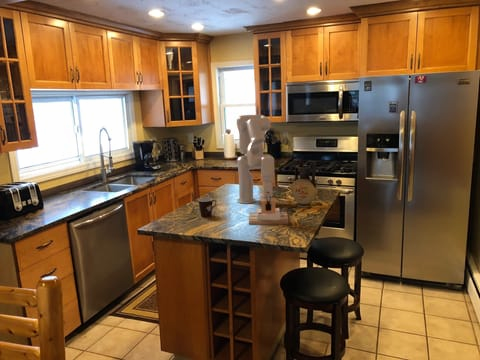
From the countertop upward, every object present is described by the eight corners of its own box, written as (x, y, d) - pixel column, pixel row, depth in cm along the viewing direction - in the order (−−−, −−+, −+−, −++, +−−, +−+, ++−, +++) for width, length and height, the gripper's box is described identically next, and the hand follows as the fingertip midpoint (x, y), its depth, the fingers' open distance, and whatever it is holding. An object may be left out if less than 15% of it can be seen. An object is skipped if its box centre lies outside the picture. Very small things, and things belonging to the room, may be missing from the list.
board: (249, 215, 233) (249, 212, 233) (286, 215, 232) (286, 212, 231) (249, 224, 217) (248, 220, 217) (288, 223, 216) (288, 220, 216)
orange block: (261, 213, 227) (261, 198, 226) (275, 213, 227) (274, 198, 225) (261, 216, 221) (261, 201, 219) (275, 216, 220) (275, 201, 219)
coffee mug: (200, 218, 231) (199, 202, 229) (198, 214, 239) (197, 198, 237) (219, 216, 234) (218, 200, 232) (216, 212, 242) (215, 197, 240)
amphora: (322, 204, 255) (322, 158, 249) (311, 210, 241) (311, 162, 235) (297, 200, 264) (297, 157, 258) (286, 206, 251) (285, 160, 245)
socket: (257, 213, 231) (257, 207, 230) (279, 213, 230) (279, 207, 230) (256, 219, 218) (256, 213, 217) (280, 219, 218) (280, 213, 217)
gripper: (261, 175, 228) (261, 204, 232) (261, 181, 211) (261, 213, 215) (273, 175, 228) (274, 204, 231) (275, 181, 211) (275, 212, 214)
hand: (268, 208), depth 223 cm, fingers closed on orange block, 6 cm apart
